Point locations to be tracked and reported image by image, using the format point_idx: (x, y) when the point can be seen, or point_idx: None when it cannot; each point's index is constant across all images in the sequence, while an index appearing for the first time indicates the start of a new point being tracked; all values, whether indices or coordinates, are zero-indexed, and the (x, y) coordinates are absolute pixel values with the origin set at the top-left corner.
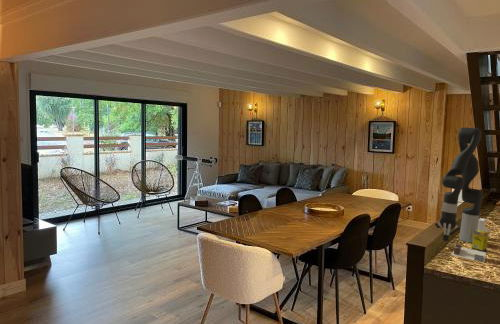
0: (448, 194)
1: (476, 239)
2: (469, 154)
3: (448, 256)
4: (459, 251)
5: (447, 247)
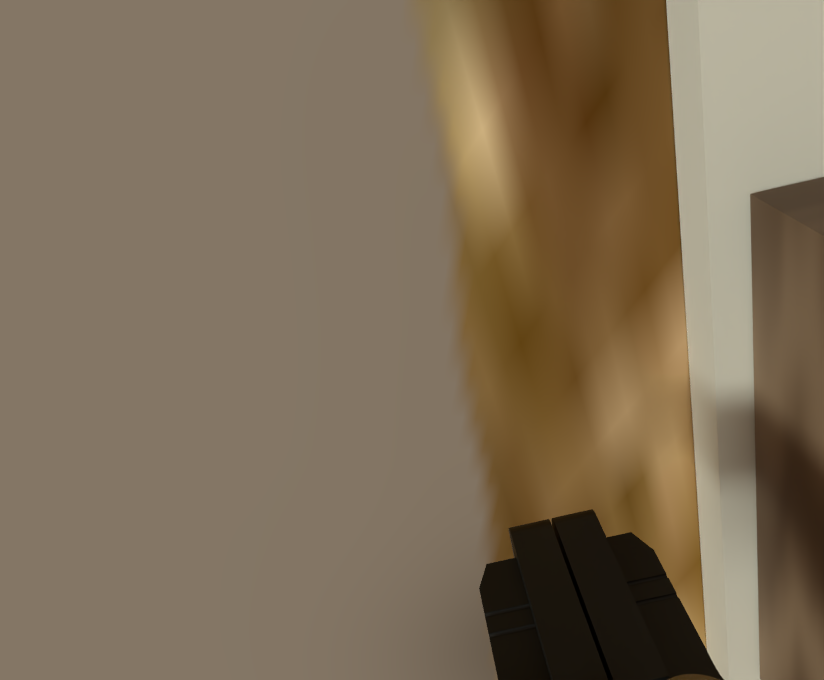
0: None
1: None
2: None
3: None
4: None
5: (465, 31)
